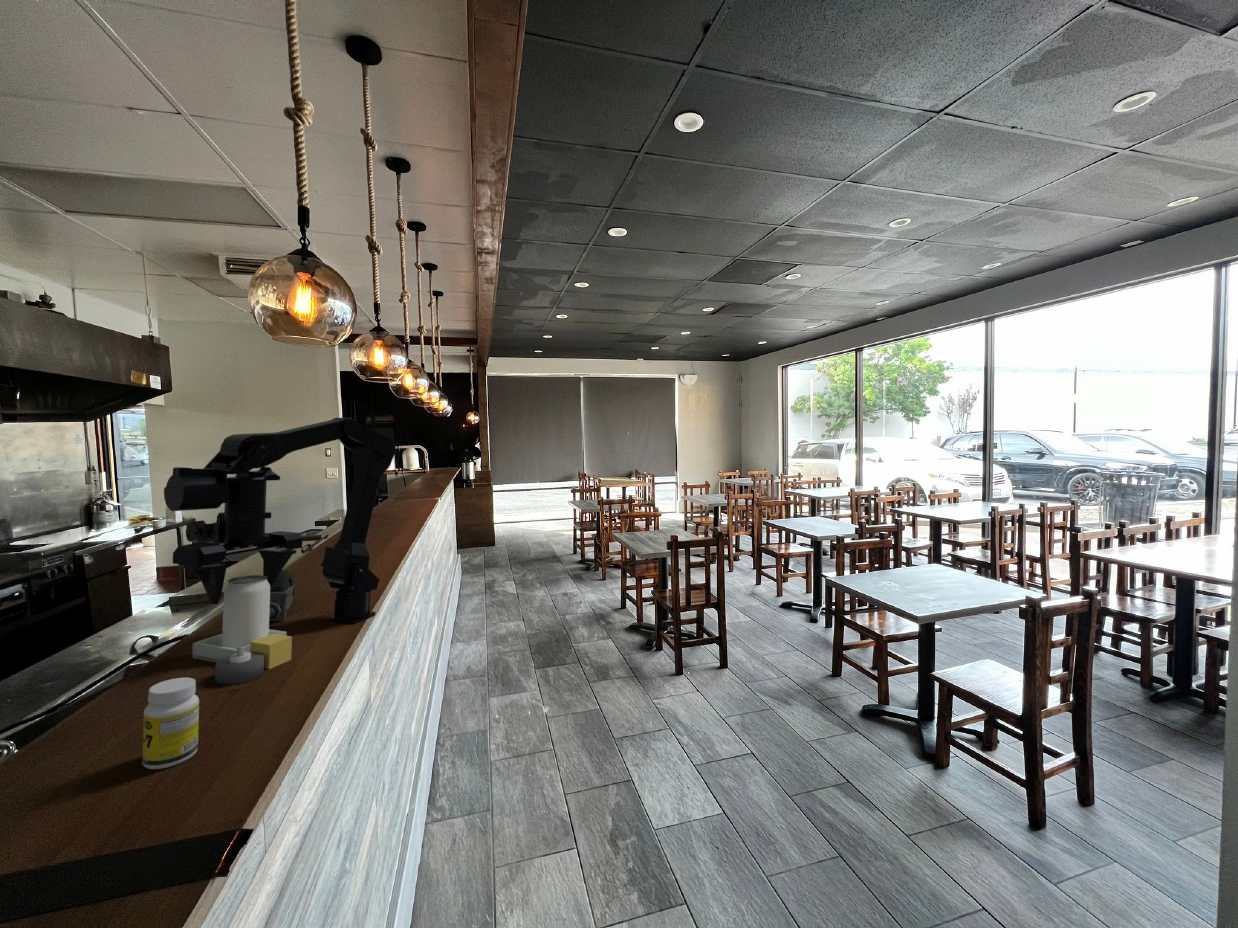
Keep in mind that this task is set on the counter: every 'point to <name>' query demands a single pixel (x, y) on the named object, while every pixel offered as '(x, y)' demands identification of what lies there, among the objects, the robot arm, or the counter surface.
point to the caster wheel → (281, 596)
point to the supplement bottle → (170, 723)
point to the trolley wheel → (239, 667)
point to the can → (245, 610)
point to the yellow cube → (273, 649)
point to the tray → (218, 648)
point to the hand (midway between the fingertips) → (242, 596)
